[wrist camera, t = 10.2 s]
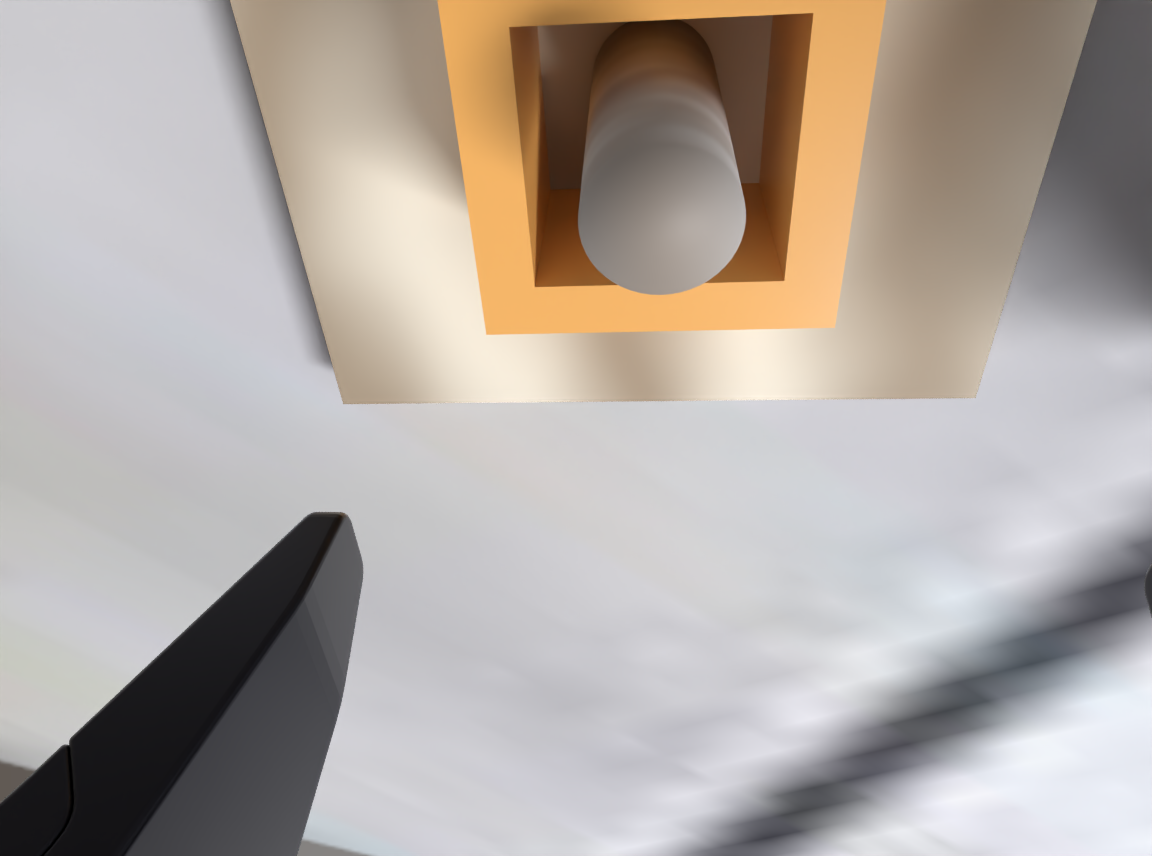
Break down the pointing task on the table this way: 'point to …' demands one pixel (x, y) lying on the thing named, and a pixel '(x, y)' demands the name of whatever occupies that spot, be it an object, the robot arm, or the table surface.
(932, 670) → the table surface
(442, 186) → the post board
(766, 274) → the orange square ring
